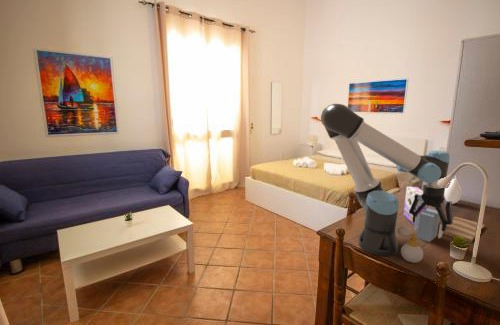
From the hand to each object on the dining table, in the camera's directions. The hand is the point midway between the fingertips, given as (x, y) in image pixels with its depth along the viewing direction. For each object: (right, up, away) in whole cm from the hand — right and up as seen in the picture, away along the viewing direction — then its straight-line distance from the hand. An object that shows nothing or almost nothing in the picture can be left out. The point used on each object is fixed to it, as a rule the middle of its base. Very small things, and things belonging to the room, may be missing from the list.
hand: (427, 232), depth 118 cm
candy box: (+5, +2, +18) cm, 19 cm away
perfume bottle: (-19, -6, -17) cm, 26 cm away
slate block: (0, -2, 0) cm, 2 cm away
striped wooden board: (+21, 0, +7) cm, 23 cm away
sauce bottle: (+42, +7, +40) cm, 58 cm away
